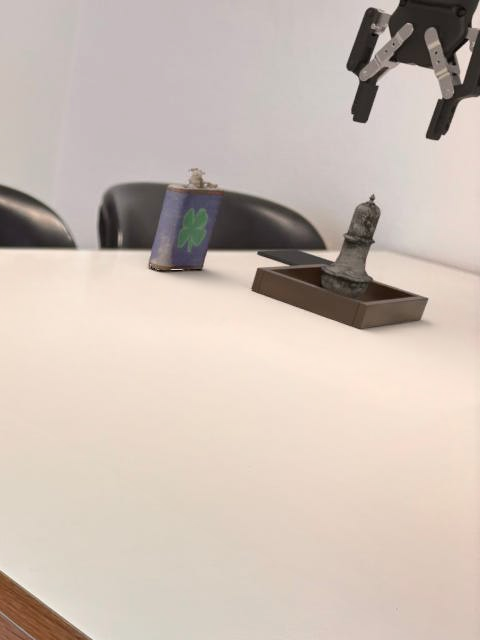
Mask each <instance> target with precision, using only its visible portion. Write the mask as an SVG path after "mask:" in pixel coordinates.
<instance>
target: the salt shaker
mask: <svg viewBox="0 0 480 640" xmlns="http://www.w3.org/2000/svg"><path fill="white" fill-rule="evenodd" d="M368 198H369V200H368V201H365V202H362V203H359V204H357V205H356V207H355V208H354V211H353V214H352V216H351V217H352V218H351V220H350V224H349V225H348V226H349V227H348V228H347V232H345V233H343V234H342V237H343V243H342V245H341V249H340V251H339V254H338V256H336V257H337V258H336V259H335V261H333V262H334V263H332V264H331V265H328V266H322V267H321V270H322V271H323V273H322V276H321V280H322V286H323V288H324V289H327V290H330V291H333V292H336V293H339V294H342V295H345V296H348V297H351V298H357V297H359V296H360V295H362V294H363V293H364V292H365V290H366V289H367V287H368V285H369V283H370V282H372V281H373V280H374V278H373V277H372V276H370V275H369V274H368V272H367V270H366V266H367V265H366V263H367V258H368V255H369V252H370V249H371V246H372V245H373V244H375V243H376V240H375V239H374V235H375V233H376V230H377V226H378V223H379V220H380V219H381V218H380V217H381V214H382V211H381V208H380V207H379V206H378V205H377V204H376V202H374V201H375V200H376V196H375V193H372V195H370V196H369V197H368Z"/></svg>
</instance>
